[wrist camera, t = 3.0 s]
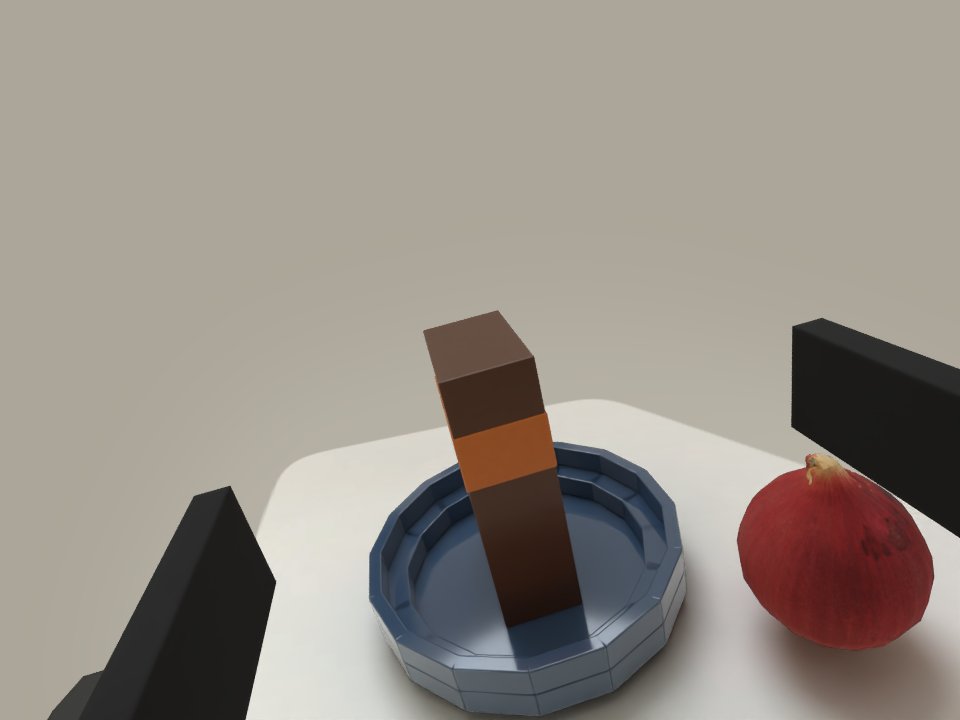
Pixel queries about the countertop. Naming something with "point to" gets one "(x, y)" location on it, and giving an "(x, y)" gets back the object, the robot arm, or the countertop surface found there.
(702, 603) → the countertop surface
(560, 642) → the bowl
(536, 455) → the snack carton
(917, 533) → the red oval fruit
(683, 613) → the countertop surface
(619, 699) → the countertop surface
